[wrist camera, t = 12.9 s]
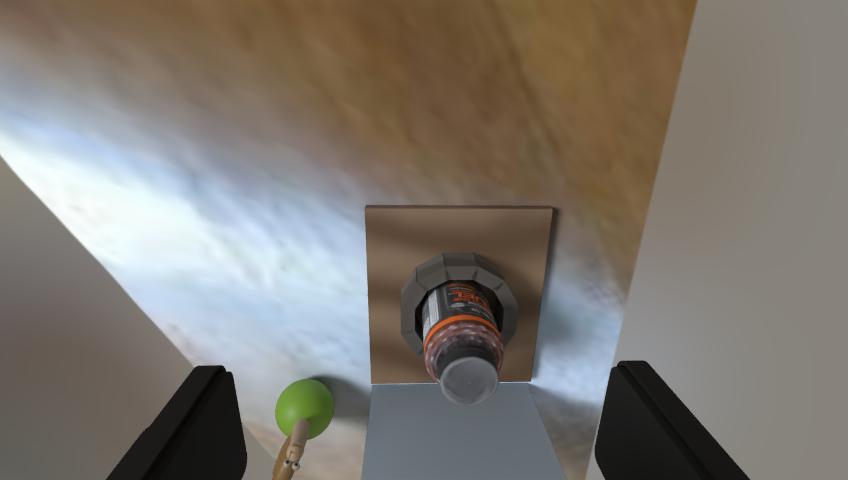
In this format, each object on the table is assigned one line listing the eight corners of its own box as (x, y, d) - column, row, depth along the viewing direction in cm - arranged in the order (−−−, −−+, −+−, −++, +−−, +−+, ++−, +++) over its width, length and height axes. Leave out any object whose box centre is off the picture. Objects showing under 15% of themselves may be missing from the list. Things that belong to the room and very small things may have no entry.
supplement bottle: (494, 280, 37) (529, 357, 27) (473, 335, 39) (497, 426, 28) (431, 264, 36) (441, 336, 26) (413, 320, 38) (415, 409, 28)
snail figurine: (349, 370, 41) (327, 475, 30) (328, 416, 43) (299, 532, 32) (297, 352, 40) (254, 454, 29) (277, 401, 42) (230, 514, 31)
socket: (366, 205, 35) (361, 219, 32) (549, 206, 36) (565, 219, 32) (372, 377, 42) (368, 405, 38) (528, 375, 42) (539, 402, 38)
